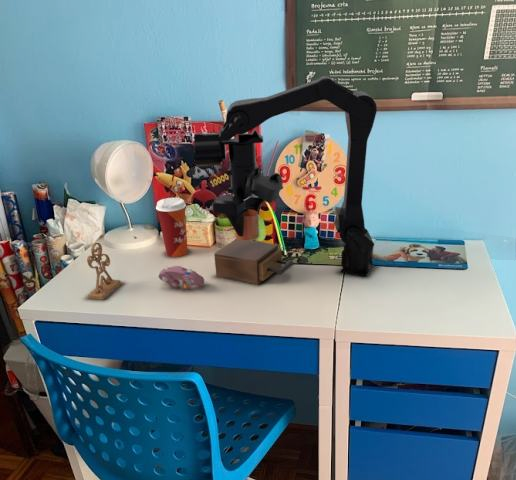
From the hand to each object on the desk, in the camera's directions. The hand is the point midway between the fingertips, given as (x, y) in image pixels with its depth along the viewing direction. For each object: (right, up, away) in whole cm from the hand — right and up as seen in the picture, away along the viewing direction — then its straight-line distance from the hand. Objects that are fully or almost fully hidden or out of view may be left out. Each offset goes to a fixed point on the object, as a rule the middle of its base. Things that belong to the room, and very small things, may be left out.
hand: (246, 231), depth 136 cm
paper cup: (-19, -2, +21) cm, 28 cm away
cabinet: (0, -8, +8) cm, 11 cm away
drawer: (+3, -9, +5) cm, 11 cm away
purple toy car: (-15, -13, +2) cm, 20 cm away
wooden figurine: (-34, -14, +3) cm, 36 cm away
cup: (0, -1, +1) cm, 1 cm away
